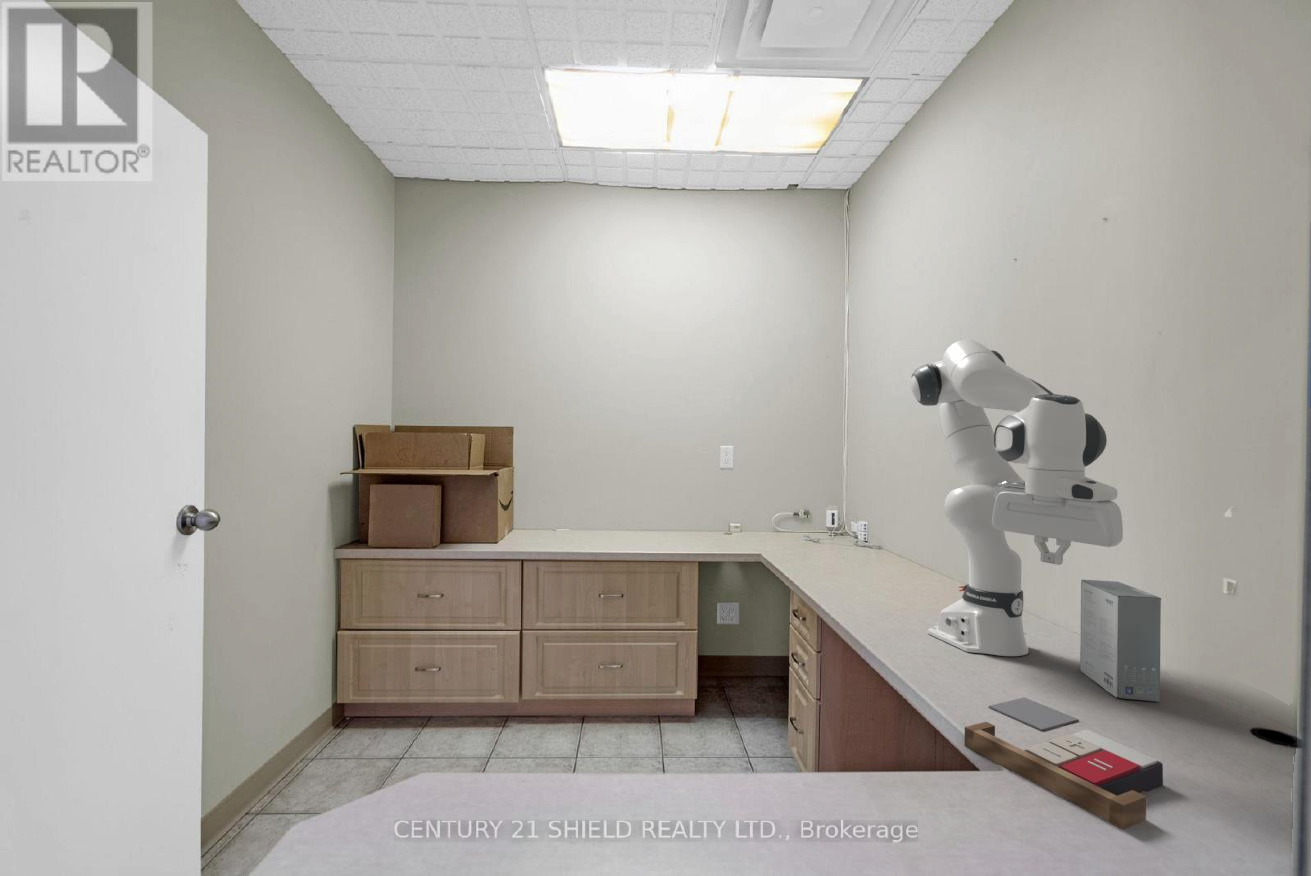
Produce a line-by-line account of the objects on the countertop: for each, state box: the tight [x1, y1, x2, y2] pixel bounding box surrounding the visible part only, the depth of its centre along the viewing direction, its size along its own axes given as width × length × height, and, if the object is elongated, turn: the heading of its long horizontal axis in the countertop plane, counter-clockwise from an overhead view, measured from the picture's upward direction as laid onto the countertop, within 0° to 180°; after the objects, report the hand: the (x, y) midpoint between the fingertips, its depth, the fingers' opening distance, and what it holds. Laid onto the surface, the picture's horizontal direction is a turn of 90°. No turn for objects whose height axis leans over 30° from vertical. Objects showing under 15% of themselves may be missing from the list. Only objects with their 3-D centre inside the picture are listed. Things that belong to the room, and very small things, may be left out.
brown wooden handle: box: [963, 721, 1147, 830], centre depth 90 cm, size 23×5×3 cm, turn 24°
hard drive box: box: [1079, 579, 1162, 702], centre depth 125 cm, size 16×8×20 cm, turn 168°
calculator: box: [1024, 729, 1164, 796], centre depth 91 cm, size 11×4×15 cm
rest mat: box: [988, 697, 1079, 732], centre depth 111 cm, size 10×10×1 cm
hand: (1051, 563), depth 110 cm, fingers closed
